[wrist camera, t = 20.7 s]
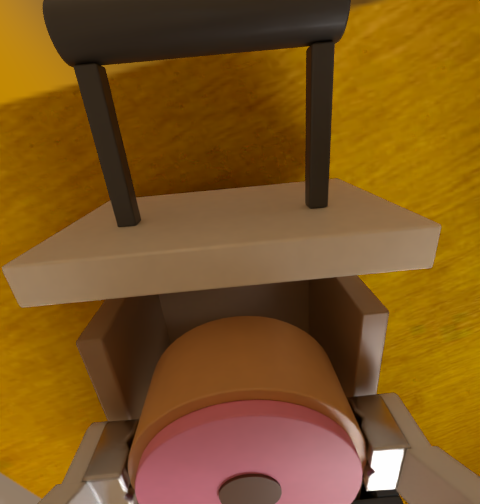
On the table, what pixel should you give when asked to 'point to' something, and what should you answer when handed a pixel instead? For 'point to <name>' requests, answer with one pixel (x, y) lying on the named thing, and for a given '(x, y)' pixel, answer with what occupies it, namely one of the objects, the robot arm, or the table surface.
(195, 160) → the table surface
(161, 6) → the drawer
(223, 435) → the donut
